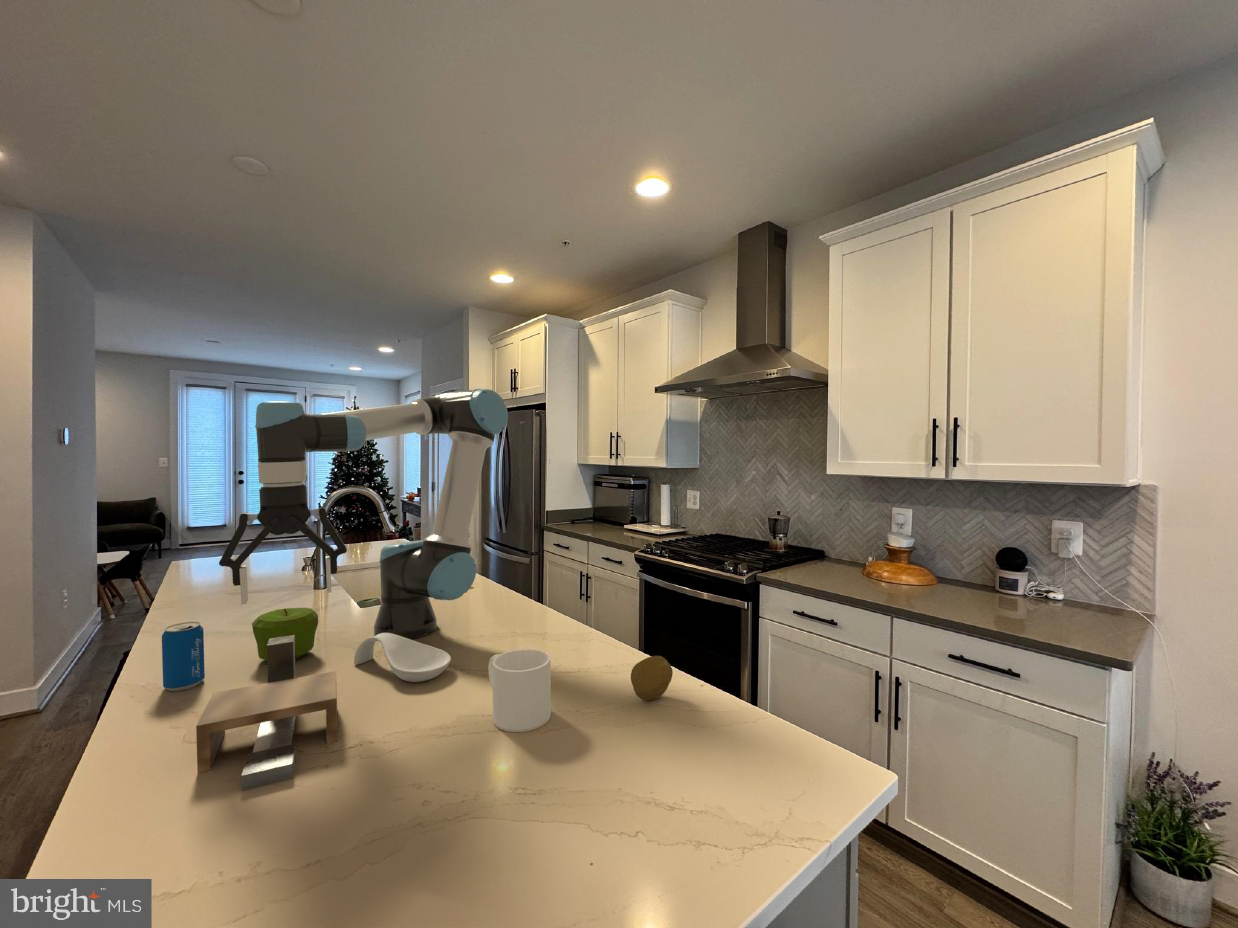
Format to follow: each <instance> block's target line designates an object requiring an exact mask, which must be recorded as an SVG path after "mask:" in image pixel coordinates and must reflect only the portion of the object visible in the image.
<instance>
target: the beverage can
mask: <svg viewBox="0 0 1238 928" xmlns="http://www.w3.org/2000/svg"><path fill="white" fill-rule="evenodd" d="M204 634H205V633H204V627H203V626H202V625H201V622H200V621H185V622H180V623H179V622H178V623H173V624H171V625H169V626H166V627H165V628H164V632H163V633H162V635H161V655H162V656H161V659H162V660H161V664H162V687H163V688H164V689H167V690H169V691H172V692H178V691H184V690H188V689H192V688H193V687H197V685H199V684H200V683H201V682H202V681H203V680H204V679H205V673H206V672H205V645H204V644H205V643H204V642H205V637H204V636H205V635H204Z"/></svg>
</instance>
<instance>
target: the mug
mask: <svg viewBox="0 0 1238 928" xmlns="http://www.w3.org/2000/svg"><path fill="white" fill-rule="evenodd" d="M551 664H552V662H551V656H550V654H549V653H547V652H546V651H542V650H538V649H533V648H532V649H531V648H525V649H523V648H522V649H521V648H519V649H514V650H509V651H505V652H502V653H496V654H494V655H492V656H491V657H490V659H489V661H488V670H487V671H488V679H489V683H490V687H491V689H492V722H493V724H494V725H495V726H496V728H497V729H500V730H501V731H504V732H508V733H527V732H530V731H531V732H532V731H534V730H538V729H539V728H541V727H542V726H545V725H546V723H548V722H549V720H550V718H551V717H552V703H551V701H552V692H551V691H552V687H551V686H552V685H551V684H552V683H551V677H552V676H551V669H552V668H551V667H552V666H551Z"/></svg>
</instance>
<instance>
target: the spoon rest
mask: <svg viewBox="0 0 1238 928" xmlns="http://www.w3.org/2000/svg"><path fill="white" fill-rule="evenodd" d="M376 642H379V643H380V644H381V645H382V648H383V652H384V655H385V658H386V661H387V664H388V665H389V667H390V669H391V671H392V673H394V675H395V676H396V677H398V678H400V679H401V680H403V681H405V682H408V683H421V682H425V681H426V682H427V681H429V680H432V679H434V678H436V677H439V675H441V674H442V673H443V672H444V671H446V669H447V668H448V667H449V665H450V663H451V662H452V657H451V655H450V653H448V652H446V650H443V649H440V648H439V647H438V648H437V647H434V646H431V645H428V644H425V643H422V642H419V641H416V640H413V639H407V638H404V637H401V636H398V635H395V634H391V633H380V634H378V635H376V636H369V637H367V638H365V639H364V640H362V641H361V643H360V644H359V646H358V647H357V649H356V651H355V654H354V659H353V665H356V666H357V665H361V664H364V663H366V662H369V661H371V660H372V659H374V649H375V648H374V646H375V643H376Z"/></svg>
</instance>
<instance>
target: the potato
mask: <svg viewBox="0 0 1238 928" xmlns="http://www.w3.org/2000/svg"><path fill="white" fill-rule="evenodd" d="M673 675H674V674H673V668H672V666H671V664H670V662H669V661H668V660H667V659H666V658H665V657H663V656H662V655H652V656H649V657H646V658H644V659H642V660H640V661H639V662H637V663H636V664H634V666H632V669H631V672H630V682H631V685H632V687H633V691H634V694H635V695H636V696H637V698H639V699H641V700H642V701H647V702H648V701H656V700H658V699H659V698H661V697H662V695H664V694H665V692H666V691H667V689H668V687H669V685H670V683H671V681H672V678H673Z"/></svg>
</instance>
